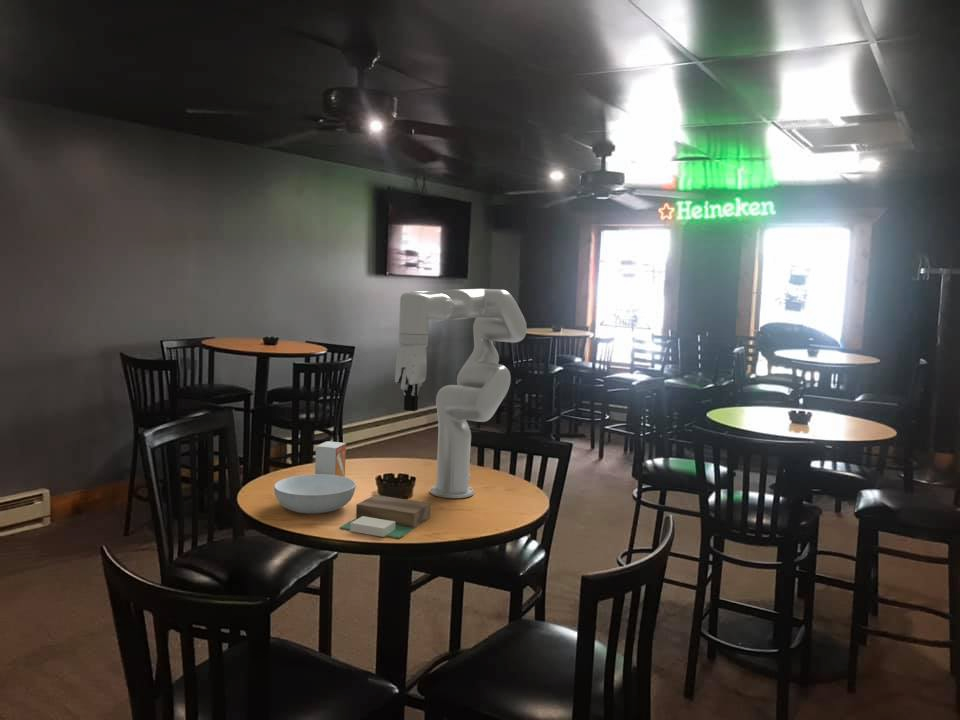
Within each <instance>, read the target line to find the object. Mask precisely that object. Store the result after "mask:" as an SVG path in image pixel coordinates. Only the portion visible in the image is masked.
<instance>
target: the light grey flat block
mask: <svg viewBox="0 0 960 720" xmlns="http://www.w3.org/2000/svg"><path fill="white" fill-rule="evenodd" d="M355 519H356V518H355ZM394 530H395V521H389V520H383V519H377V518H371V517H365V516H362V517H360V518H358V519H356V520H355V521H353V522H351V523H350V532H353V533H359V534H365V535H366V534H367V535H369V536H370V535H371V536H376V537H382V538H384V536H386V535H387V534H389V533H391V532H392V531H394Z"/></svg>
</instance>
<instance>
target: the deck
mask: <svg viewBox="0 0 960 720" xmlns="http://www.w3.org/2000/svg"><path fill="white" fill-rule="evenodd" d="M355 505H356V507H355V508H356V509H355V510H356V511H355V512H356V513H355V519H358V518H360V517H362V516H365V517H371V518H377V519H383V520H389V521H395V525H398V526H404V527H410V528H413V530H415V529H416V528H418V527H419V526H421V525H423V524H424V523H425V522H427V521H428V520H430V519H431V502H425V501H418V500H412V499H406V498H398V497H394V496H393V497H392V496H387V495H381V494H380V495H379V494H374V495H372V496H370V497H369V498H366V499H364V500H362V501H360V502H358V503H356V504H355ZM429 518H430V519H429ZM426 520H427V521H426ZM423 522H424V523H423ZM420 524H421V525H420ZM417 526H418V527H417ZM414 528H415V529H414Z"/></svg>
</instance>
